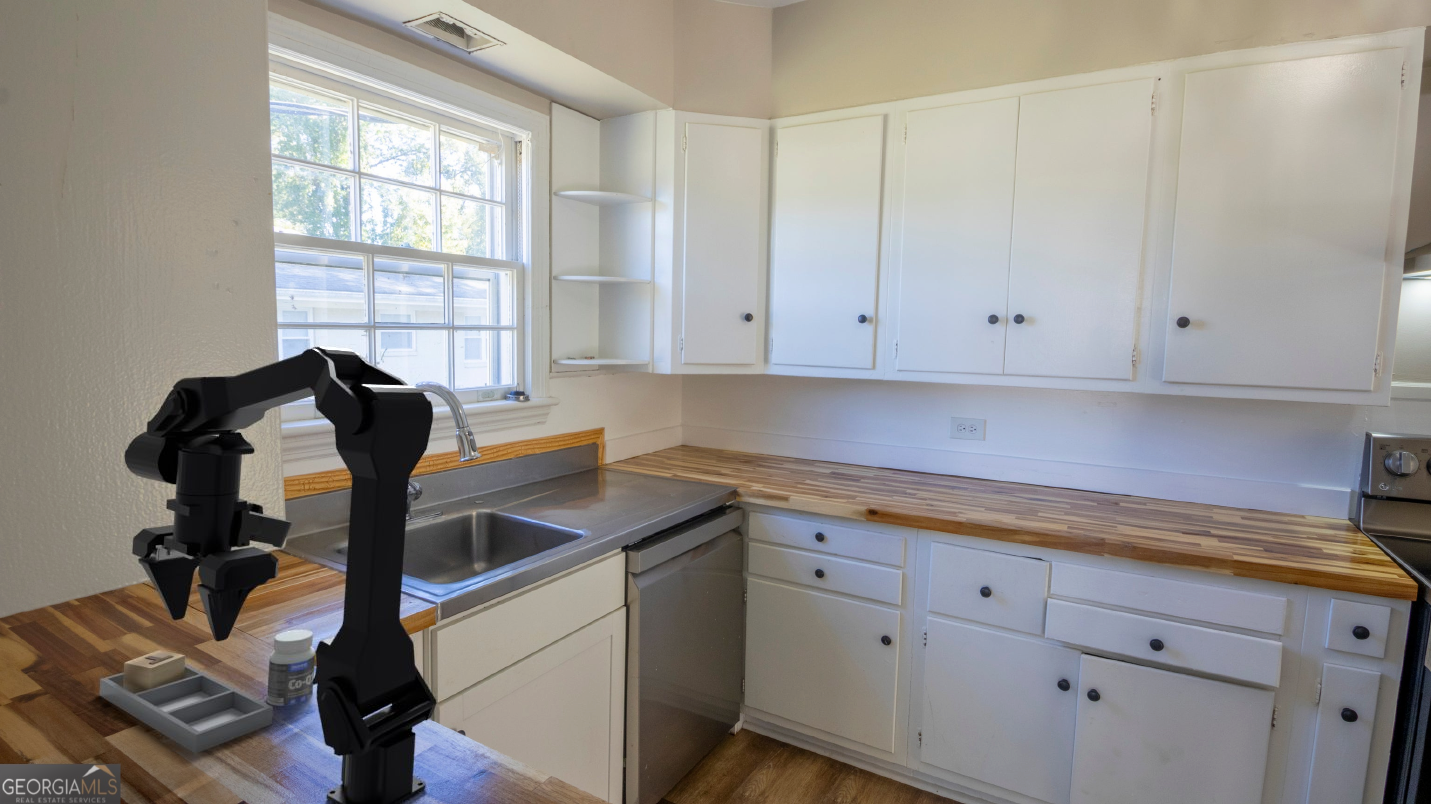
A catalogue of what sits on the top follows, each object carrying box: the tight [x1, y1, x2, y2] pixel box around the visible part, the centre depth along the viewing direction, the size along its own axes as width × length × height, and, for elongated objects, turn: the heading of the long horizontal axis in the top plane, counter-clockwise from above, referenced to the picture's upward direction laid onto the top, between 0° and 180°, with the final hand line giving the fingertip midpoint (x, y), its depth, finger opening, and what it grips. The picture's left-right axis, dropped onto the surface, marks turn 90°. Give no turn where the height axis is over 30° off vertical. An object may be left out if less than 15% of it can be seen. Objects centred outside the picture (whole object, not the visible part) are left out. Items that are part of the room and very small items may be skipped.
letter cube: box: [123, 649, 186, 694], centre depth 82 cm, size 4×4×4 cm
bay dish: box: [99, 662, 274, 755], centre depth 78 cm, size 22×8×3 cm, turn 62°
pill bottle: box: [266, 629, 316, 707], centre depth 83 cm, size 5×5×8 cm
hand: (199, 629), depth 77 cm, fingers open, 9 cm apart
